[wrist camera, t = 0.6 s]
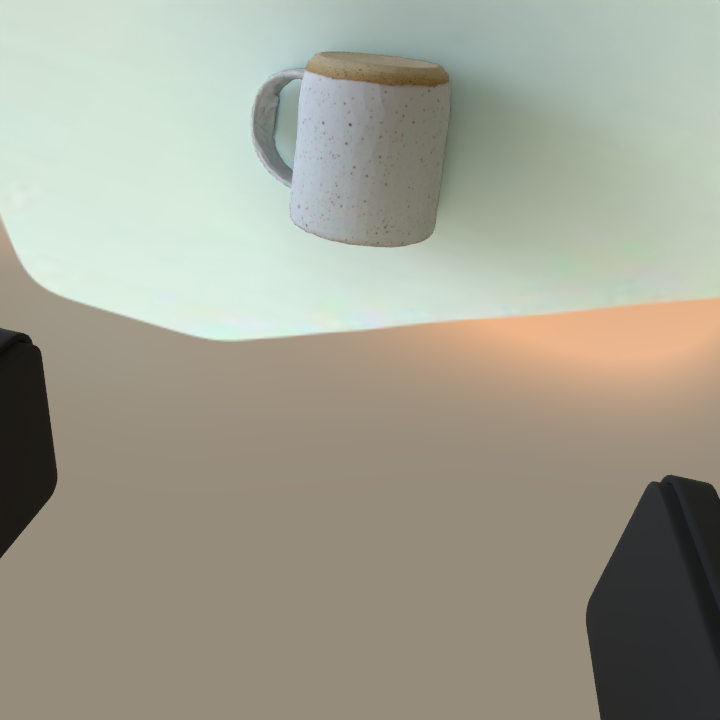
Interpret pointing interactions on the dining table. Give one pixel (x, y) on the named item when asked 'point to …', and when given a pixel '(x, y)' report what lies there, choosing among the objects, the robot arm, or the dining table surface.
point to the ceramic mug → (361, 146)
